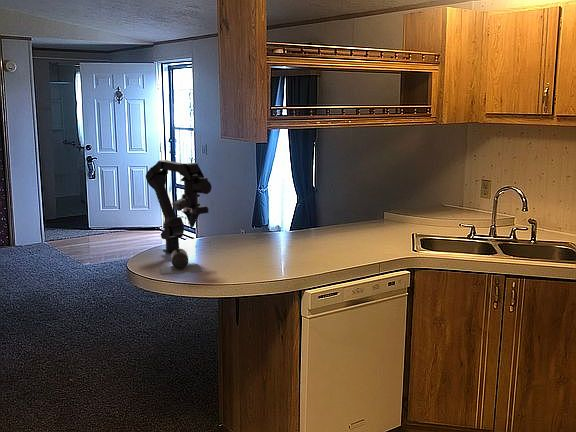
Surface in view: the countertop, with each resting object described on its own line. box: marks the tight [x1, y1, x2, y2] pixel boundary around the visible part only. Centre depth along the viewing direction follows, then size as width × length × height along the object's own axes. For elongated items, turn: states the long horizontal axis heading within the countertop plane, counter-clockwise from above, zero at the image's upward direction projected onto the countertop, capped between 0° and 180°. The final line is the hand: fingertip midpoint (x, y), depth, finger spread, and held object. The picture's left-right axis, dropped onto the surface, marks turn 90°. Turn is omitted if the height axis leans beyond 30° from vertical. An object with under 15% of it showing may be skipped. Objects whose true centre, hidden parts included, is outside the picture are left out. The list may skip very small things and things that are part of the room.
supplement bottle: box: [170, 248, 189, 269], centre depth 256 cm, size 7×7×12 cm
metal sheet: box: [159, 263, 203, 275], centre depth 255 cm, size 11×16×1 cm
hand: (191, 227), depth 275 cm, fingers closed
